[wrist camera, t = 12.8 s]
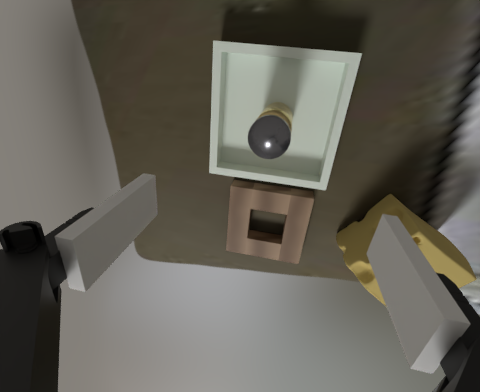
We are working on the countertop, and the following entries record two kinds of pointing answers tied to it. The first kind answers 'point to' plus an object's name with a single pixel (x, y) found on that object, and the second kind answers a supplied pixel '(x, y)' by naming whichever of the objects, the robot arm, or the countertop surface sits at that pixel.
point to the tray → (285, 91)
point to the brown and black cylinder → (271, 131)
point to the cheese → (426, 237)
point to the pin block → (270, 200)
